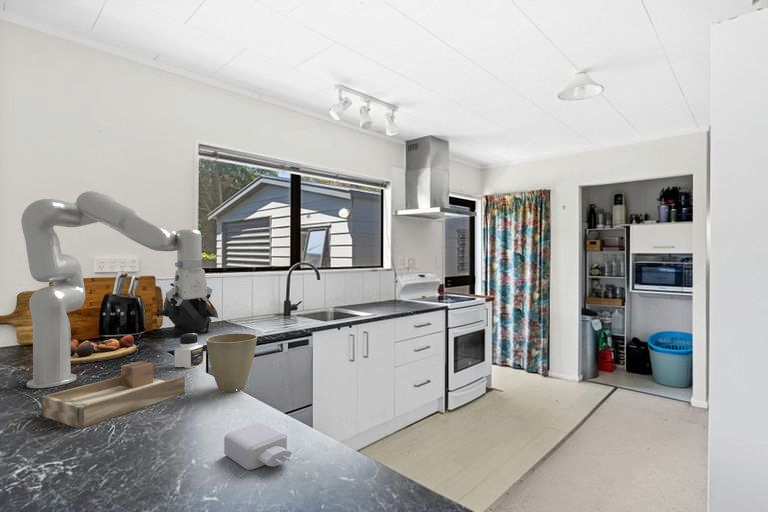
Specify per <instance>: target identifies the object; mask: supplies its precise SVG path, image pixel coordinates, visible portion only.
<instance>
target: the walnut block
mask: <svg viewBox="0 0 768 512" xmlns="http://www.w3.org/2000/svg"><path fill="white" fill-rule="evenodd" d="M120 376H121V386H124V387H128V388H132V389H134V388H137V387H141V386H144V385H148V384H151V383H153V378H154V363H152V362H148V361H142V360H141V361H135V362H132V363H128V364H123V365H121V366H120Z"/></svg>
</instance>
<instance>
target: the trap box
mask: <svg viewBox="0 0 768 512" xmlns="http://www.w3.org/2000/svg"><path fill="white" fill-rule="evenodd" d="M185 378H186V377H185V376H178V377H176V378H172V379H169V380H162V379H158V378H154V377H153V383H151V384H148V385H144V386H141V387H137V388H134V389H132V388H128V387H124V386H121V375H120V376H115V377H113V378H109V379H105V380H100V381H96V382H93V383H89V384H84V385H81V386H77V387H73V388H69V389H65V390H61V391H57V392H54V393H49V394H46V395H41V416H42V417H44V418H47V419H51V420H53V421H55V422H56V421H57V422H58V423H61V424H64V425H66V426H70V427H73V428H76V429H83V428H87V427H88V426H92V425H95V424H98V423H101V422H104V421H107V420H110V419H113V418H115V417H118V416H122V415H124V414H127V413H130V412H134V411H136V410H139V409H143V408H145V407H148V406H151V405H154V404H157V403H160V402H162V401H166V400H169V399H172V398H175V397H178V396H181V395H183V394H185V393H186V389H185V387H186V381H185V380H186V379H185Z"/></svg>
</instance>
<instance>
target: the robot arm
mask: <svg viewBox="0 0 768 512" xmlns="http://www.w3.org/2000/svg"><path fill="white" fill-rule="evenodd" d="M20 223H21V228H22V229H21V230H22V233H23V237H24V241H25V248H26V249H25V250H26V255H27V261H28V269H29V273H30V275H31V278H32V279H33V280H35V281H36V282H38V283H39V282H40V283H52V285H51V286H44V287H41V288H39V289H37V290H36V291H34V293H32V295H31V296H30V297H29V302H28V307H29V311H30V315H31V322H32V379H31V380H28V381H27V382H26V388H28V389H45V388H46V389H47V388H53V387H58V386H64V385H67V384H69V383H73V382H75V381H76V380H77V374H74V373H72V371H71V368H72V367H71V340H72V339H71V337H72V335H71V321H70V318H69V316H68V314H67V313H70V312H74V311H77V310H78V309H81V308H82V307H83V305H84V304H85V302H86V287H85V283H84V276H83V269H82V266H81V264H80V262H79V260H78V259H77V258H76V257H74V256H73V255H71V254H67V253H62V249H61V243H60V240H59V239H60V238H59V236H58V234H57V232H56V231H55V229H54V227H56V226H57V227H62V228H63V227H64V228H79V227H84V226H88V225H92V224H97V223H101V224H103V225H105V226H107V227H109V228H111V229H113V230H115V231H117V232H119V233H120V234H121V235H124V236H125V237H126V238H128V239H129V240H131V241H133V242H135V243H137V244H139V245H141V246H143V247H145V248H147V249H149V250H153V251H157V252H175V251H177V253H176V254H177V262H175V263H174V267H177V269H176V270H175V274H174V281H173V284H174V287H172V288H173V289H172V288H171V289H172V290H171V289H170V290H169V291H167V292H166V293H165V298H166V297H167V299H168V301H169V302H170V303H171V305H172V306H173V315H174V317H175V318H181V317H182V307H181V306H180V304H181V302H182V301H183V299H196V298H198V299H199V300H200V302H199V313H200V314H206V313H207V312H206V310H207V304H206V302H208V300H210V298H211V296H212V293H213V289H212V288H211V287H209V286H208V283H207V277H206V272H205V269H203V267H202V266H203V265H202V264H203V263H202V262H203V259H202V258H203V257H202V249H203V247H202V233H201V231H200V230H199V229H189V228H188V229H180V230H174V229H173V230H172V229H167V228H162V227H159V226H157V225H156V224H152V223H150V222H149V221H147V220H145V219H143V218H141V217H140V216H138V215H137V212H136V211H135V210H134V209H133V208H130V207H128V206H126V205H123V204H122V203H120V202H118V201H117V199H115V198H114V197H112V196H110V195H108V194H106V193H105V194H104V193H101V192H97V191H91V190H90V191H85V192H82V193H81V194H79V195H78V197H76V201H75V202H69V201H65V200H59V199H54V198H42V199H38V200H35V201H33V202H32V203H30V204H29V205H28V206H27V207H25V209H24V210H23V212H22V215H21V221H20ZM173 294H174V297H175V299H174V298H173V296H172V295H173Z"/></svg>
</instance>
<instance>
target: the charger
mask: <svg viewBox="0 0 768 512" xmlns="http://www.w3.org/2000/svg"><path fill="white" fill-rule="evenodd" d="M223 441H224V442H223V447H224V448H223V453H224V455H225V456H226V457H228V459H230V460H232V461H234V462H235V463H237V464H238V465H240V466H241V467H242V468H244V469H245V470H247V471H252V470H255V469H258V468H261V467H263V466H268V467H272V468H273V467H277V466H279V465H283V464H284V463H285V462H286V461H288V462H290V461H291V458H290V457H291V455H292V452H291V451H290V450H288V435H287V433H285V432H282V431H281V430H278V429H276V428H275V427H272V426H270V425H269V424H266V423H264V422H261V421H260V422H256V423H253V424H251V425H247V426H244V427H241V428H238V429H235V430H233V431H230V432H228V433H226V434H225V436H224V438H223Z"/></svg>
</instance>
